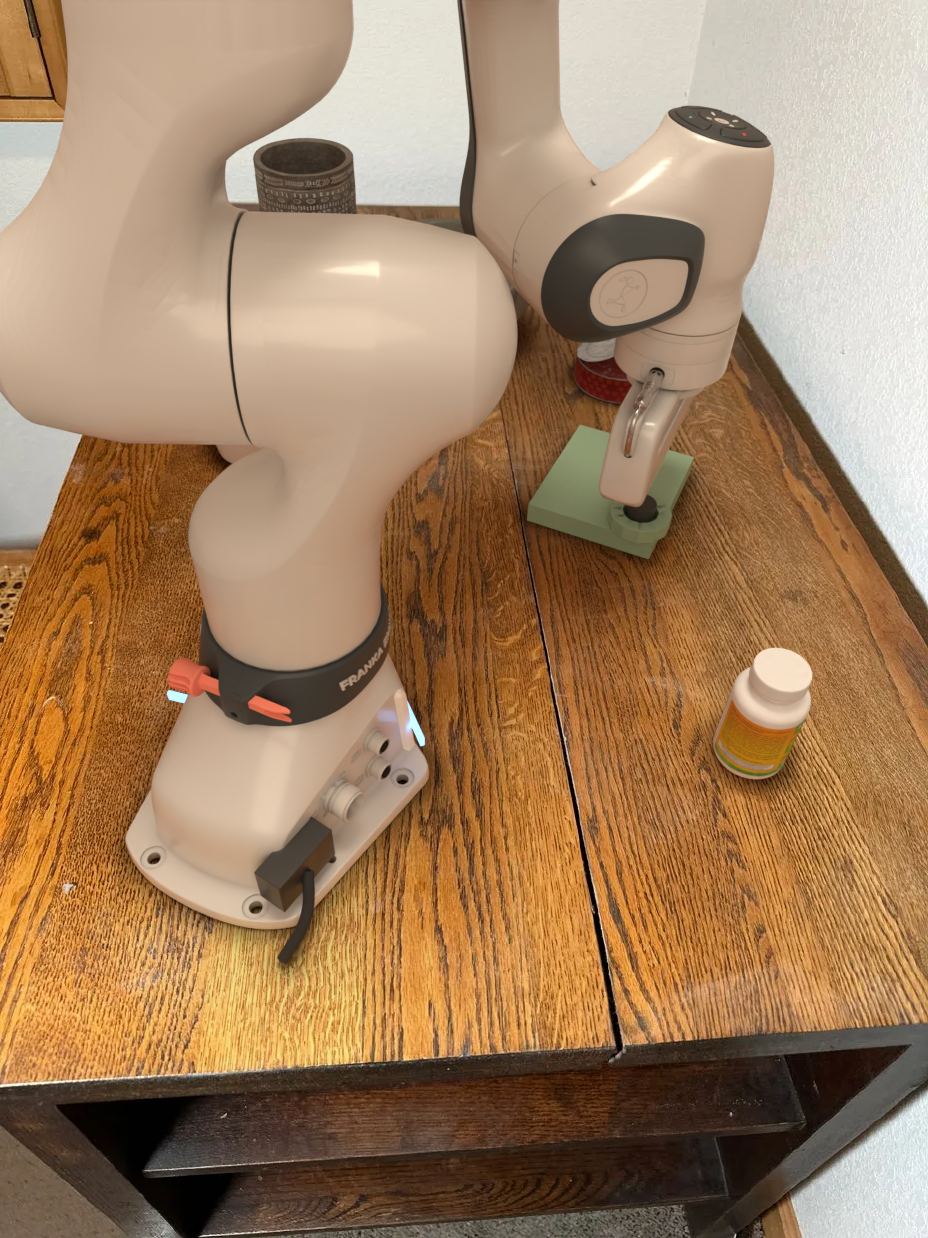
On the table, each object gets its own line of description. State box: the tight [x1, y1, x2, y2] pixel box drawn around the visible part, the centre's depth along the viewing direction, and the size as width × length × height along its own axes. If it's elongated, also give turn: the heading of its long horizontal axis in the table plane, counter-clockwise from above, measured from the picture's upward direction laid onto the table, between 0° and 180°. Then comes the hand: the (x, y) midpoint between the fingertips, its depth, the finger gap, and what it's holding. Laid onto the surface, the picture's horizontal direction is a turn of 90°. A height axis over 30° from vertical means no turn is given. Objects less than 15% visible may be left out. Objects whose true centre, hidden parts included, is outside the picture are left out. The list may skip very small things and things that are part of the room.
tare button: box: [626, 495, 657, 523], centre depth 83 cm, size 3×3×1 cm
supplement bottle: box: [712, 647, 813, 780], centre depth 67 cm, size 5×5×10 cm
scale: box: [526, 424, 695, 560], centre depth 89 cm, size 15×13×4 cm
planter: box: [252, 137, 358, 214], centre depth 118 cm, size 12×12×13 cm
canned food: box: [573, 338, 632, 405], centre depth 102 cm, size 11×10×10 cm
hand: (643, 480), depth 82 cm, fingers closed
